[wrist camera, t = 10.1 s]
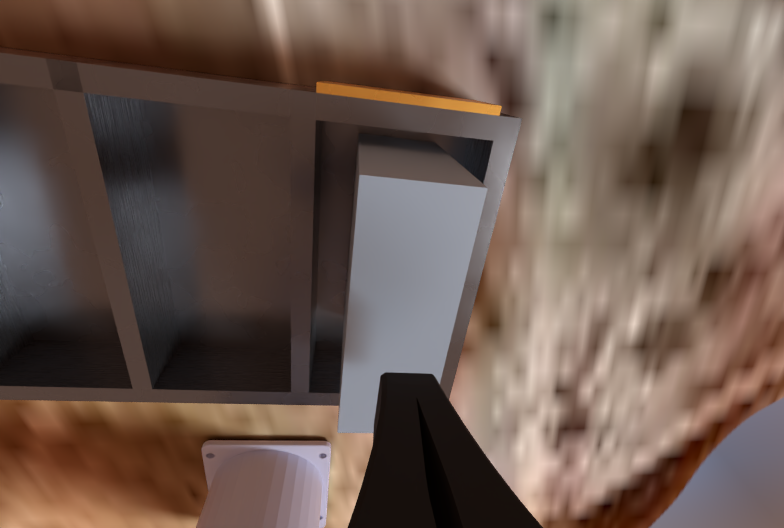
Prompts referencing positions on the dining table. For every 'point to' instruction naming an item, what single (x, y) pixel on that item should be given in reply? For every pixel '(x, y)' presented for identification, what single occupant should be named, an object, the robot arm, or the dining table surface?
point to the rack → (198, 227)
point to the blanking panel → (403, 266)
